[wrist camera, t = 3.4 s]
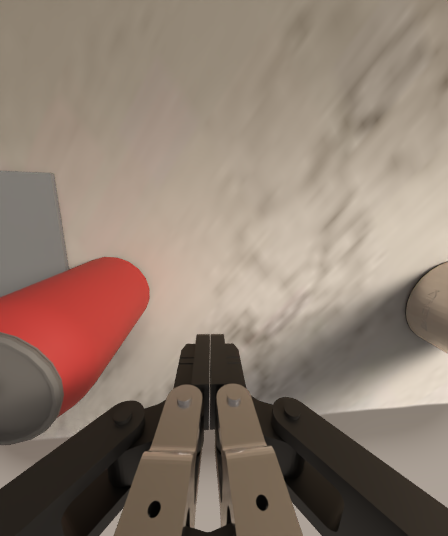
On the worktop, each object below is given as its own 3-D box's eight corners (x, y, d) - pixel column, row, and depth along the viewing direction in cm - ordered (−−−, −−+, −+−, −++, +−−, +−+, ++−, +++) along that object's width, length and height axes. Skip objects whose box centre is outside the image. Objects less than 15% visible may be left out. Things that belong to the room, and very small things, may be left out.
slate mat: (53, 173, 17) (50, 172, 17) (86, 378, 22) (84, 381, 22) (-108, 166, 16) (-116, 165, 16) (-37, 380, 21) (-41, 383, 21)
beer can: (96, 241, 19) (-88, 289, 7) (163, 277, 20) (97, 366, 8) (69, 301, 20) (-127, 423, 8) (133, 331, 21) (39, 474, 10)
